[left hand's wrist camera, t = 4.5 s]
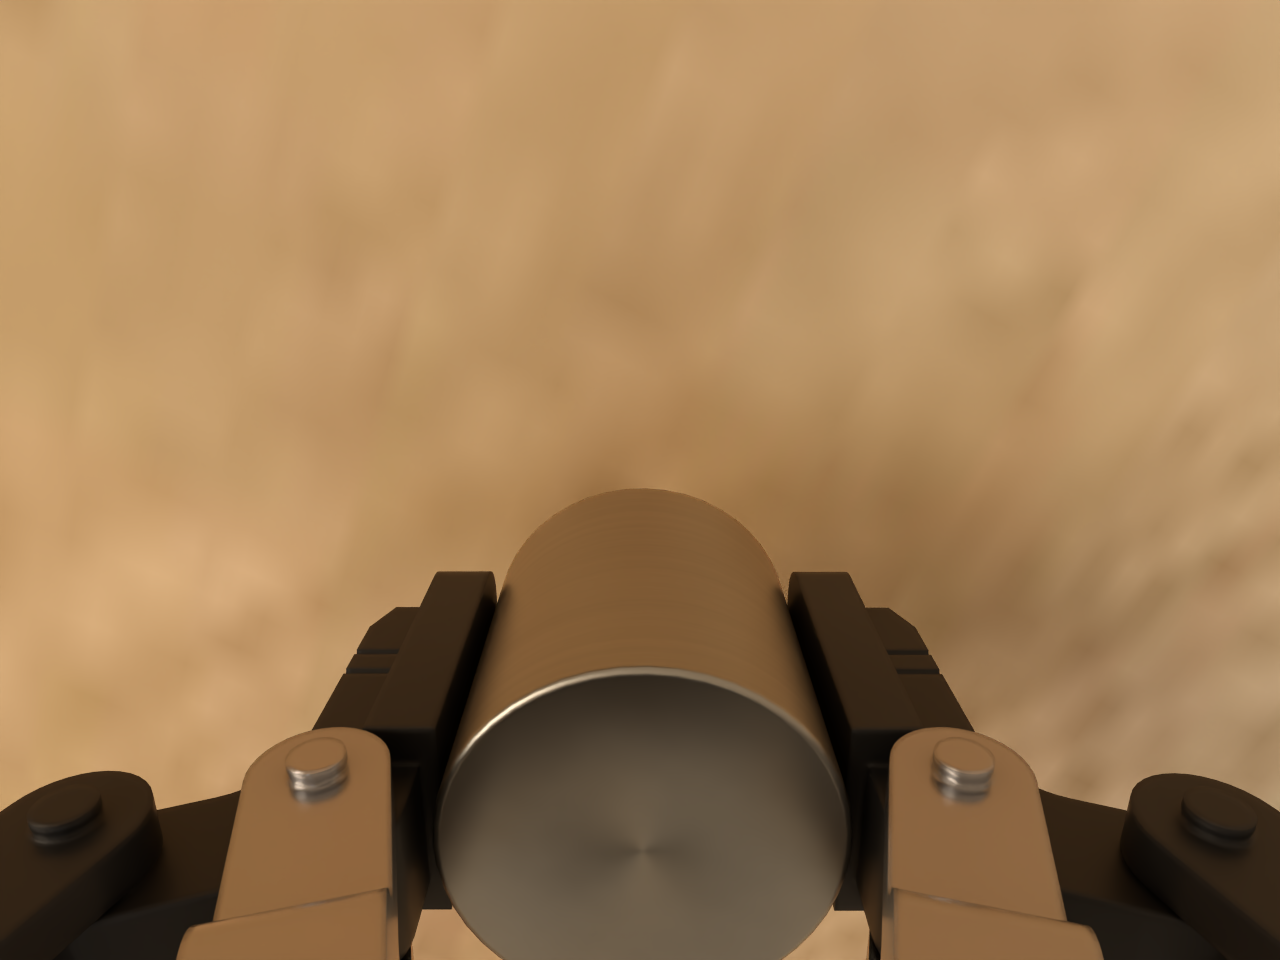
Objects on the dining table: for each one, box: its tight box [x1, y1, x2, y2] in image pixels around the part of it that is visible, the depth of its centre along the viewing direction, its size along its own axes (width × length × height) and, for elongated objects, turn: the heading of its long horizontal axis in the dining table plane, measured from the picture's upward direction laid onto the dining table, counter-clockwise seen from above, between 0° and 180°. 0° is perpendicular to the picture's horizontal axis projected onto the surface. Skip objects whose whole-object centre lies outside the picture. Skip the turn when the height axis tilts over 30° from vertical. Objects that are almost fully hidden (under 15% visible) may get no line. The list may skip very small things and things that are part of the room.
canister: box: [433, 489, 853, 960], centre depth 11 cm, size 4×4×4 cm
